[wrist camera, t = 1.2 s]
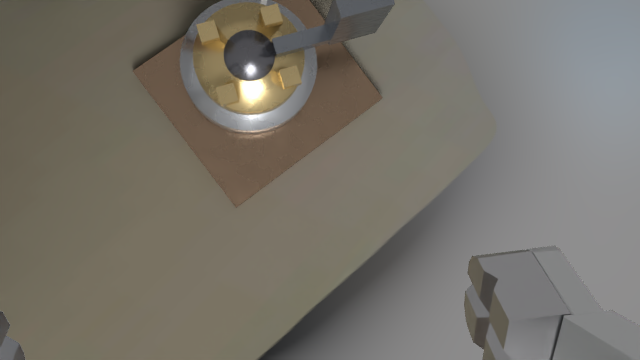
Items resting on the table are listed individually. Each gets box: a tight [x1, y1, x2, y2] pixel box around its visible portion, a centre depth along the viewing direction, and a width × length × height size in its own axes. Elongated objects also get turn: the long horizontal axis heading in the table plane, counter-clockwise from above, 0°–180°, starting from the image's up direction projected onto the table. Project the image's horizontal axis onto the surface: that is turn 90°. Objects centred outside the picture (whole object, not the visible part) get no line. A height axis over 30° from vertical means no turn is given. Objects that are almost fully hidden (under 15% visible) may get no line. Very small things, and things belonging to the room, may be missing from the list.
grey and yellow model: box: [193, 0, 395, 115], centre depth 55 cm, size 18×11×10 cm, turn 107°
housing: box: [133, 0, 382, 208], centre depth 62 cm, size 20×18×4 cm
